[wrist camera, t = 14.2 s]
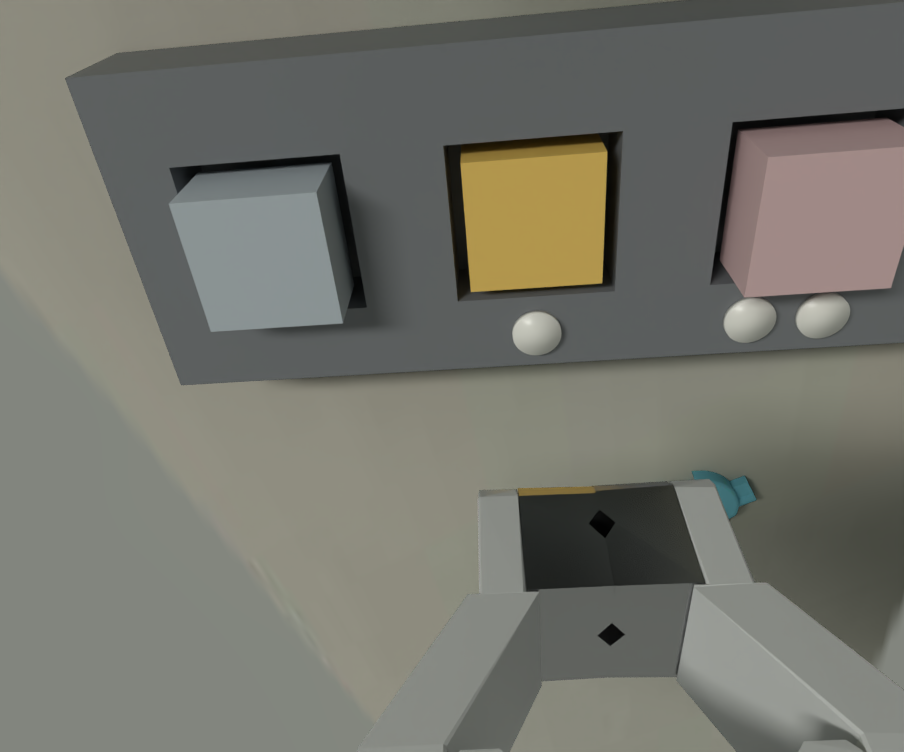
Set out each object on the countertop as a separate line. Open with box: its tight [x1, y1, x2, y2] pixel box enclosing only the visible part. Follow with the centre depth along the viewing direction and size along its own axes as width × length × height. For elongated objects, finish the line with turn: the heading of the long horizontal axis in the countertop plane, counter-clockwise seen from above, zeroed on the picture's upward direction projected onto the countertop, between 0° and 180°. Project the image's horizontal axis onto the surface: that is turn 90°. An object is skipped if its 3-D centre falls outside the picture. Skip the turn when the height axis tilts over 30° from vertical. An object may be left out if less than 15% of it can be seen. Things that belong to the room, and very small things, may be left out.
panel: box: [65, 0, 904, 385], centre depth 20 cm, size 22×9×3 cm, turn 95°
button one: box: [460, 133, 607, 292], centre depth 19 cm, size 4×4×2 cm
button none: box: [169, 162, 354, 332], centre depth 19 cm, size 4×4×2 cm
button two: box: [720, 117, 904, 298], centre depth 18 cm, size 4×4×2 cm
